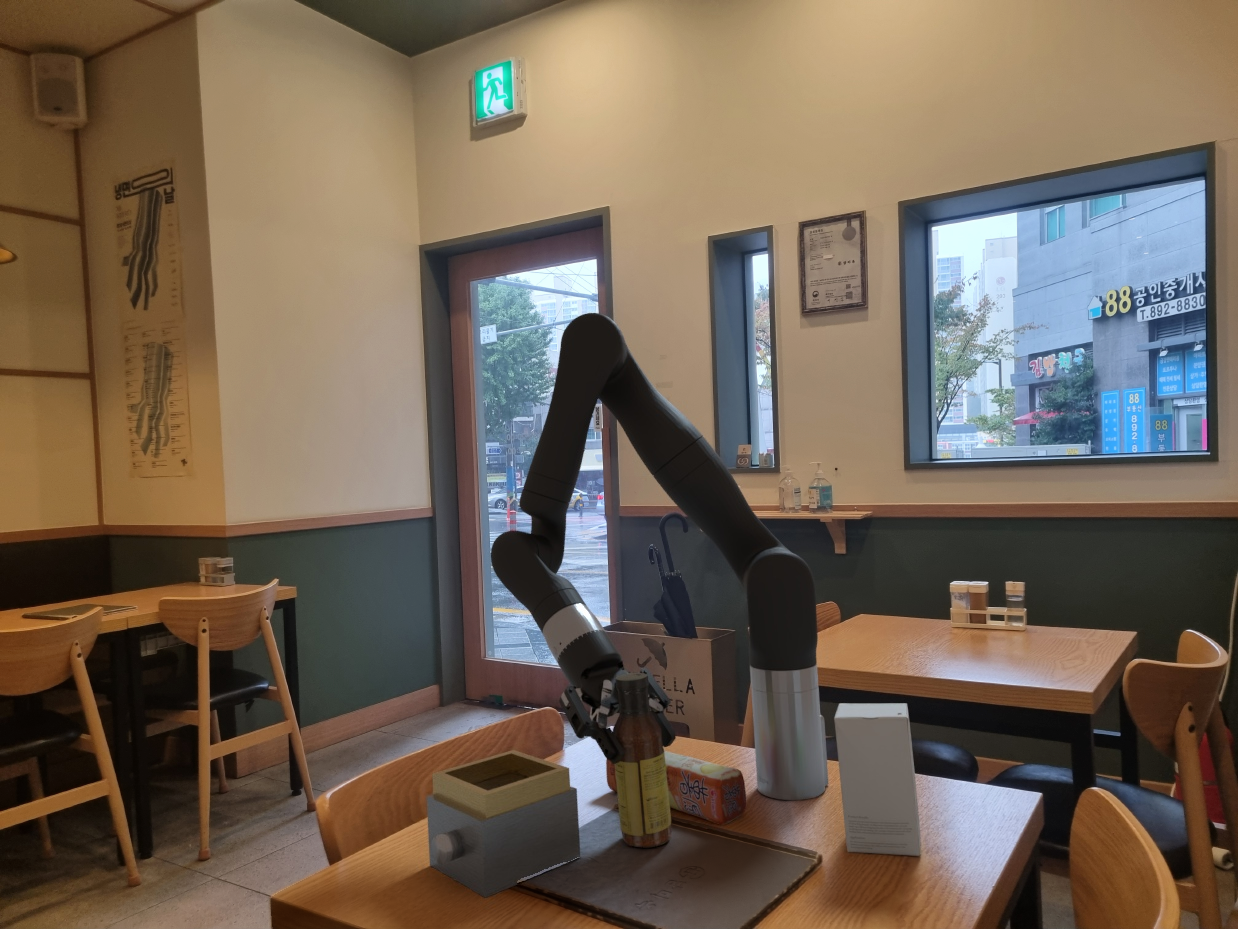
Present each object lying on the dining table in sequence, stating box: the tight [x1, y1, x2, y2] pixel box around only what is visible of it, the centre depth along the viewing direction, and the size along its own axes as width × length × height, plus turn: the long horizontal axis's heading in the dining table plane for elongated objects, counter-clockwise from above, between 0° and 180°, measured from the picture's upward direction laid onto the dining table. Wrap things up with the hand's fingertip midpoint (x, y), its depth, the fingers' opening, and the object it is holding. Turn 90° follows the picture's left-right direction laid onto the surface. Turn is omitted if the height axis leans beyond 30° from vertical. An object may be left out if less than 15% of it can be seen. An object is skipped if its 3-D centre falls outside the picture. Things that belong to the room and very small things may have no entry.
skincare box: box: [833, 702, 922, 857], centre depth 97 cm, size 8×7×16 cm
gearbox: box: [426, 749, 581, 898], centre depth 98 cm, size 15×12×10 cm
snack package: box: [605, 750, 747, 826], centre depth 114 cm, size 21×7×7 cm, turn 44°
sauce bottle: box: [612, 672, 672, 849], centre depth 103 cm, size 7×6×20 cm
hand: (645, 751), depth 102 cm, fingers open, 8 cm apart
